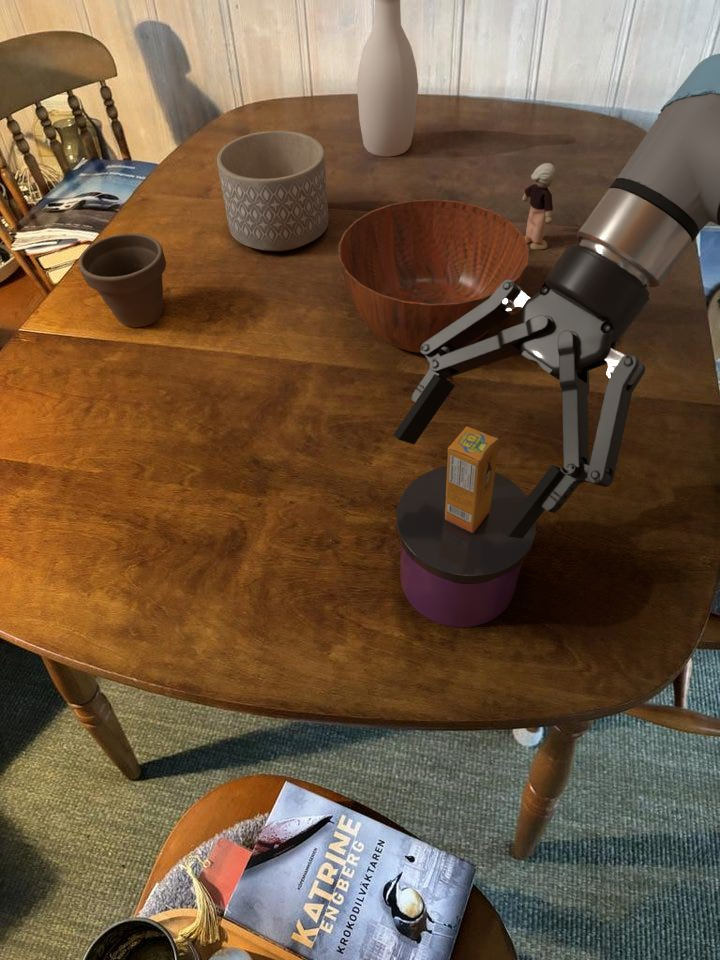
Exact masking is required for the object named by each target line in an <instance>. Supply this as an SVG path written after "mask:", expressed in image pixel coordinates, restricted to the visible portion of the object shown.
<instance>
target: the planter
mask: <svg viewBox="0 0 720 960" xmlns="http://www.w3.org/2000/svg"><path fill="white" fill-rule="evenodd" d="M216 165H217V170H218V176H219V181H220V187H221V191H222V192H221V193H222V197H223V202H224V208H225V213H226V220H227V226H228V230H229V233H230V235H231V236H232V238H233V239H235V240H236V242H238V243H240V244H242V245H244V246H246V247H249V248H252V249H255V250H260V251H263V252H286V251H291V250H292V251H293V250H295V249H298V248H302V247H303V246H305V245H308V244H309V243H312V242H313V241H315V240H317V239H318V238H319V237H320V236H322V235H323V234H324V232H325V231H326V230H327V229H328V228H327V227H328V226H329V208H328V207H329V206H328V205H329V204H328V192H327V191H328V189H327V175H326V161H325V152H324V147H323V145H322V143H320V141H318V140H317V139H316V138H314V137H312V136H310V135H307V134H305V133H301V132H297V131H292V130H291V131H290V130H263V131H258V132H253V133H249V134H246V135H242V136H240V137H237V138H235V139H233V140H231V141H229V142H228V143H226V144H225V145H224V146H223V147H221V149H220V150H219V152H218V154H217V156H216Z"/></svg>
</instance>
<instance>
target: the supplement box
mask: <svg viewBox="0 0 720 960" xmlns="http://www.w3.org/2000/svg"><path fill="white" fill-rule="evenodd" d="M498 451H499V438H498V437H495V436H492V435H490V434H487V433H485V432H482V431H480V430H478V429H475V428H472V427H470V426H465V427H464V429H463V430H462V431H461V432H460V433H459V434H458V436H457V437H456V438H455V439H454V440H453V442H452V443H451V444H450V445H449V446H448V447H447V460H446V462H447V464H446V466H447V482H446V504H445V519H446V520H447V521H449V522H451V523H453V524H455V525H457V526H459V527H461V528H463V529H465V530H467V531H469V532H471V533H474V532H475V530H476V529H477V528H478V527H479V525H480V524H481V523H482V521H483V520H484V518H485V517H486V516H487V514H488V513H489V511H490V507H491V500H492V492H493V484H494V477H495V472H496V467H497V460H498Z"/></svg>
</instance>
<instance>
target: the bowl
mask: <svg viewBox="0 0 720 960" xmlns="http://www.w3.org/2000/svg"><path fill="white" fill-rule="evenodd" d="M524 236H525V235H524V234H523V233H522V232H521V231H520V230H519V229H518V227H517V226H516V225H515V224H514V223H513V222H511V221H510V220H508V219H507V218H505V217H503V216H502V215H501V214H499V213H497V212H494V211H492V210H489V209H488V208H485V207H482V206H479V205H475V204H471V203H467V202H463V201H458V200H450V199H449V200H448V199H435V198H431V199H413V200H412V199H411V200H406V201H401V202H396V203H390V204H387V205H384V206H382V207H379V208H376V209H373V210H371V211H369V212H367V213H365V214H364V215H363V216H361V217H359V218H358V219H355V220H354V221H353V222H352V223H351V224H350V225H349V227H347V228H346V230H345V231H343V233H342V236H341V238H340V240H339V243H338V245H337V247H338V250H337V251H338V262H339V267H340V269H341V273H342V276H343V279H344V282H345V285H346V288H347V291H348V293H349V296H350V298H351V300H352V302H353V303H354V306H355V308H356V309H357V311H358V313H359V315H360V317H361V319H362V320H363V322H364V323H365V325H366V326H367V327H368V328H369V329H370V330H371V331H372V332H373V333H374V334H375V335H376V336H377V337H378V338H379V339H381V340H382V341H384V342H385V343H388V344H389V345H391V346H393V347H395V348H398V349H400V350H405V351H407V352H410V353H417V354H422V353H421V350H420V348H421V345H422V344H423V343H424V342H425V341H427V340H428V339H430V338H431V337H433V336H434V335H436V334H437V333H439V332H440V331H442V330H443V329H445V328H446V327H447V326H449V325H450V324H452V323H453V322H455V321H456V320H458V319H459V318H461V317H462V316H464V315H465V314H467V313H468V312H470V311H471V310H473V309H474V308H475V307H477V306H478V305H480V304H481V303H483V302H484V301H486V300H487V299H489V298H490V297H491V295H492V294H493V293H494V292H495V290H496V289H497V288H498V287H499V286H500V284H501V283H502V282H503V281H504V280H506V279H511V280H512V281H514V282H515V283H516V284H517V285H518V286H520V283H521V282H522V279H523V277H524V274H525V272H526V270H527V267H528V263H529V257H530V256H529V255H530V248H529V245H528V243H527V242H526V240H525V237H524ZM492 329H493V328H491V329H489V330H488V331H486V332H485V333H483V334H482V335H480V336H479V337H477V338H476V339H474V340H473V341H471V342H470V343H468V344H467V345H465V346H463V347H466V346H469V345H472V344H474V343H477V342H478V341H479V340H480V339H481V338H482V337H483V336H485V335H486V334H487V333H488V332H490V331H491V330H492ZM463 347H462V348H463ZM460 349H461V348H460Z"/></svg>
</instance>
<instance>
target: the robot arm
mask: <svg viewBox="0 0 720 960" xmlns="http://www.w3.org/2000/svg"><path fill="white" fill-rule="evenodd" d="M709 223H713V224H715V225H718V226H719V227H720V53H715V54H712V55H710V56H708V57H706V58H704V59H702V60H701V61H700V62H699V63H698V64H697V65H696V66H695V67H694V68H693V69H692V71H691V72H690V74H689V75H688V76H687V77H686V79H685V80H683V83H682V84H681V85H680V87H679V88H678V89H677V90H676V92H675V93H674V94H673V95H672V97H671V98H670V99H669V100H667V101H666V103H665V104H664V105H663V106H662V107H661V109H660V113H658V114H657V118H656V120H655V121H654V122H653V124H652V125H651V126H650V129H649V130H648V131H647V133H646V134H645V136H644V137H643V139H642V140H641V141H640V143H639V145H638V146H637V148H636V149H635V151H634V152H633V153H632V155H631V156H630V158H629V159H628V160H627V162H626V163H625V165H624V166H623V168H622V170H621V171H620V172H619V174H618V175H617V177H616V178H615V180H614V181H613V182H612V183H611V184H610V186H609V188H607V190H606V191H605V193H604V194H603V195H602V197H601V198H600V200H599V201H598V202H597V204H596V205H595V206H594V208H593V209H592V211H591V212H590V214H589V215H588V217H587V218H586V219H585V220H584V222H583V224H582V225H581V226H580V228H579V229H578V231H577V232H576V236H577V241H578V242H579V243H578V244H577V243H573V244H571V245H568V246H567V247H565V249H564V251H563V252H562V253H561V255H560V257H559V258H558V260H557V261H556V263H555V264H554V265H553V266H552V268H551V270H550V271H549V272H548V273H547V275H546V277H545V278H544V281H543V284H542V286H541V288H540V290H539V291H538V292H537V293H535V294H534V295H533V296H531V297H530V296H529V295H528V294H527V293H526V291H525V290H524V289H523V288H522V287H521V286H520V285H519V286H518V285H517V284H516V283H515V282H514V281H512V280H511V279H506V280H504V281H503V282H502V283H501V284H500V286H499V287H498V288H497V289H496V290H495V292H494V293H493V294H492V295H491V297H490V298H489V299H487V300H486V301H484V302H483V303H481V304H480V305H478V306H477V307H475V308H474V309H473V310H471V311H470V312H468V313H467V314H465V315H464V316H462V317H461V318H459V319H458V320H456V321H455V322H453V323H452V324H450V325H449V326H447V327H446V328H445V329H443V330H442V331H440V332H439V333H437V334H436V335H434V336H433V337H431V338H430V339H428V340H427V341H425V342H424V343H423V344H422V345H421V348H420V350H421V353H420V354H422V355H424V357H425V359H426V360H427V362H428V370H427V371H426V373H425V375H424V376H423V378H422V379H421V381H420V382H419V383H418V384H417V387H416V388H415V389H414V391H413V392H412V394H411V398H410V401H412V402H413V403H414V404H412V406H411V408H410V409H409V411H408V412H407V414H406V415H405V417H404V418H403V419H402V420H401V423H399V425H398V427H397V429H396V430H395V431H394V433H393V436H394V437H395V439H397V440H398V441H401V442H404V443H408V444H411V445H415V444H416V443H417V441H418V440H419V439H420V437H421V436H422V435H423V433H424V432H425V430H426V429H427V427H428V426H429V424H430V423H431V422H432V420H433V419H434V417H435V416H436V414H437V413H438V411H439V410H440V408H441V407H442V406H443V404H444V402H445V401H446V400H447V398H448V397H449V395H450V394H451V392H452V391H453V389H454V388H455V387H456V385H455V384H454V383H453V382H451V381H452V380H455V379H454V377H455V376H459V375H461V374H465V373H467V372H469V371H473V370H476V369H479V368H481V367H484V366H487V365H490V364H492V363H496V362H499V361H501V360H504V359H507V358H510V357H514V356H515V357H519V356H523V357H524V358H525V359H527V360H529V361H530V362H532V363H533V364H535V365H536V366H538V367H540V369H542V370H543V371H545V372H546V373H547V374H549V375H551V376H552V377H554V378H555V379H557V380H559V387H560V389H561V407H562V408H561V409H562V410H561V411H562V413H561V414H562V454H563V455H562V456H563V463H562V464H563V466H560V467H559V466H556V465H553V464H552V465H551V466H550V467H549V468H548V470H547V471H546V472H545V474H544V475H543V476H542V478H540V480H539V482H537V484H536V485H535V487H534V488H533V489H532V491H531V492H530V493H529V495H528V496H527V499H526V500H525V501H524V503H523V504H522V505H521V506H520V508H519V509H518V510H517V512H516V513H515V514H514V516H513V517H512V518H511V520H510V521H509V522H508V524H507V525H506V526H505V527H504V529H503V530H502V531H503V532H504V533H505V534H506V535H507V536H508V537H514V538H521V539H523V537H524V536H525V535H526V533H527V532H528V531H529V530H530V528H531V527H532V526H533V524H534V523H535V522H536V523H537V522H538V519H539V518H540V517H541V515H542V514H544V512H547V513H553V514H555V513H556V512H558V511H559V510H561V508H562V507H563V506H564V504H565V503H566V502H567V501H568V499H569V498H570V497H571V496H572V494H573V493H574V492H575V490H576V489H578V487H579V486H580V485H581V484H583V483H589V484H590V483H591V484H593V485H597V486H599V487H603V488H605V487H606V488H607V487H609V486H611V485H612V484H613V481H614V477H615V472H616V469H617V464H618V460H619V454H620V451H621V447H622V441H623V436H624V432H625V428H626V423H627V419H628V414H629V409H630V404H631V400H632V396H633V393H634V391H635V390H636V388H637V386H638V384H639V382H640V381H641V379H642V377H644V374H645V372H646V365H645V364H644V363H643V362H642V361H641V360H640V359H639V358H638V357H637V356H635V354H632V353H627V354H624V353H622V352H620V351H618V350H616V345H617V342H618V340H619V339H620V338H621V337H622V336H623V335H624V334H625V333H626V331H627V330H628V329H629V328H630V326H631V325H632V324H633V322H634V321H635V320H636V318H637V317H638V316H639V314H640V313H641V311H642V310H643V309H644V308H645V306H646V305H647V304H648V302H649V301H650V292H649V290H648V288H651V289H652V288H656V287H657V288H658V287H660V286H661V284H662V283H663V282H664V281H665V279H666V278H667V276H668V275H669V274H670V273H671V271H672V270H673V268H674V267H675V266H676V264H677V263H678V261H679V260H680V259H681V257H682V256H683V255H684V253H685V252H686V251H687V250H688V248H689V247H690V246H691V244H692V243H693V242H694V241H695V240H696V238H697V237H698V235H699V234H700V232H701V231H702V230H703V229H704V228H705V227H706V226H707V225H708V224H709ZM520 312H521V315H520V323H518V324H515V325H512V326H511V327H508V328H504V329H503V330H500V331H499V333H497V334H496V335H493V336H491V337H488V338H485V339H483V340H480V341H476V342H474V343H472V344H470V345H468V346H466V347H463V346H465V345H467V344H468V343H470V342H471V341H473V340H474V339H476V338H477V337H479V336H480V335H482V334H483V333H485V332H486V331H488V330H489V329H491V328H492V329H493V328H494V327H496V326H497V325H499V324H501V323H502V322H504V320H506V319H507V318H508V317H509V316H510V315H515V314H518V313H520ZM492 329H491V330H492ZM488 332H489V331H488ZM462 347H463V348H462ZM460 348H461V349H460ZM606 364H607V368H606V369H607V370H606V376H607V378H608V379H609V380H608V381H607V384H606V387H605V391H604V397H603V400H602V405H601V409H600V414H599V417H598V418H599V419H598V424H597V429H596V433H595V437H594V442H593V447H592V451H591V456H590V436H589V433H590V432H589V400H588V399H589V398H588V397H589V394H590V371H593V370H594V369H597V368H599V367H602V366H605V365H606ZM450 380H451V381H450Z"/></svg>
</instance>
